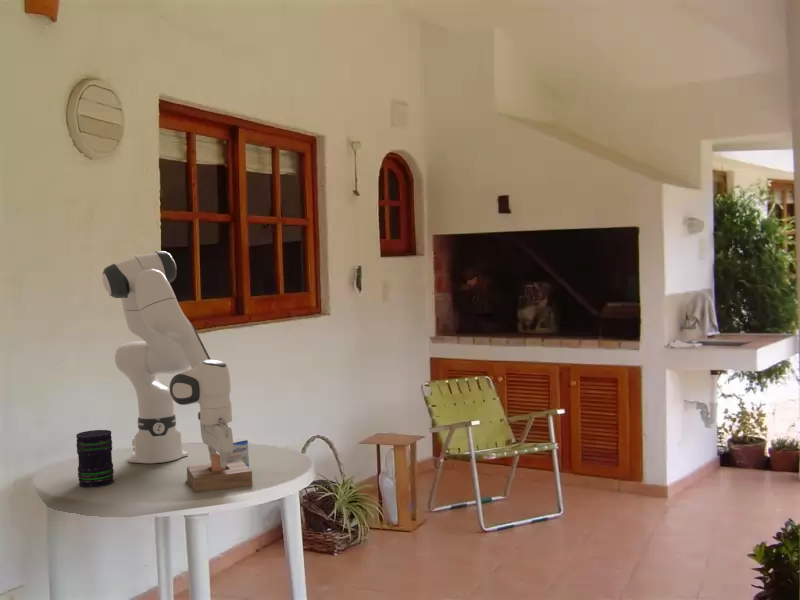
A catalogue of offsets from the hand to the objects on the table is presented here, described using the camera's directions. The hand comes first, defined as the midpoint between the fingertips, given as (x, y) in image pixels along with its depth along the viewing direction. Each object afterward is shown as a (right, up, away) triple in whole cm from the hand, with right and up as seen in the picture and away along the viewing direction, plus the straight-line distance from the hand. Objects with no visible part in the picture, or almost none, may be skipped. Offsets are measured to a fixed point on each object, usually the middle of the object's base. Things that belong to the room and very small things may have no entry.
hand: (218, 463), depth 243 cm
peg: (0, -5, 0) cm, 5 cm away
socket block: (0, -5, 0) cm, 5 cm away
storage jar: (-37, -7, +4) cm, 38 cm away
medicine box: (+2, -5, +16) cm, 17 cm away
